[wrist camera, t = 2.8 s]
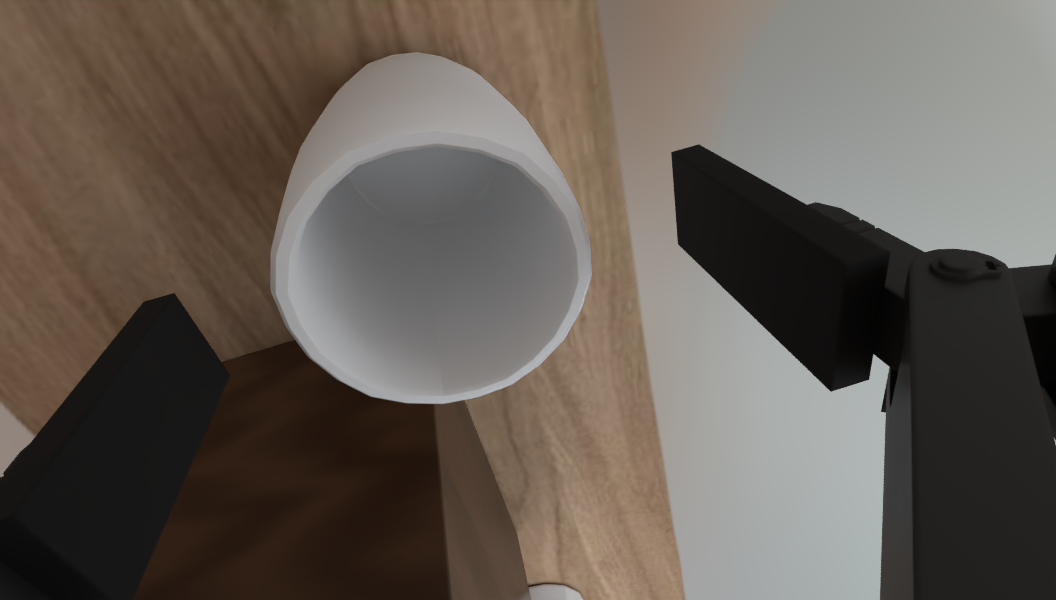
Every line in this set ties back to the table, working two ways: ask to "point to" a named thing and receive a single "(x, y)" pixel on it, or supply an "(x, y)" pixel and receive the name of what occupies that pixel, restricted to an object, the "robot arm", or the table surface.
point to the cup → (427, 237)
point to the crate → (334, 498)
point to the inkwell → (553, 592)
